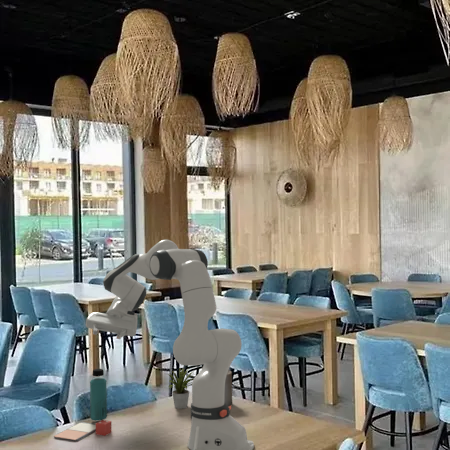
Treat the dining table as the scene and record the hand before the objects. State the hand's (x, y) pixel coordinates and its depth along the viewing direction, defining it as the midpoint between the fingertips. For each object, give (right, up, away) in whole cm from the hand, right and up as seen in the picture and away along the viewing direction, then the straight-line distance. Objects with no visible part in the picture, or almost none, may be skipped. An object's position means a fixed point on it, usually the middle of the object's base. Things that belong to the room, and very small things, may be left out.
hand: (106, 335), depth 228 cm
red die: (+2, -33, -15) cm, 36 cm away
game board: (-7, -33, -14) cm, 36 cm away
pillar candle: (+44, -33, +18) cm, 58 cm away
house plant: (+27, -33, +15) cm, 45 cm away
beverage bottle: (-3, -33, -2) cm, 33 cm away
